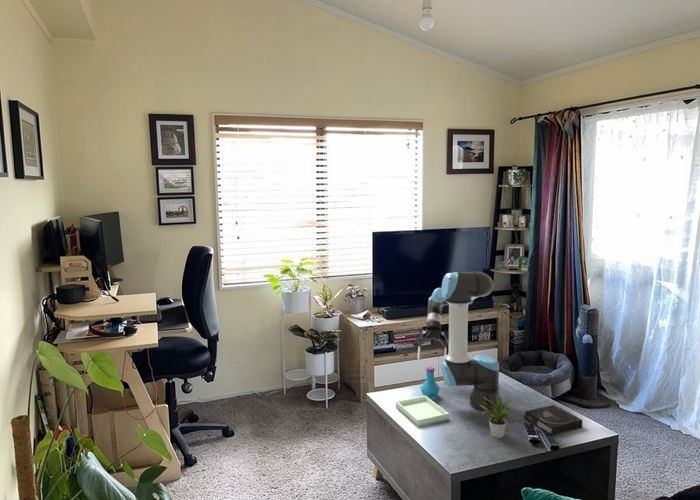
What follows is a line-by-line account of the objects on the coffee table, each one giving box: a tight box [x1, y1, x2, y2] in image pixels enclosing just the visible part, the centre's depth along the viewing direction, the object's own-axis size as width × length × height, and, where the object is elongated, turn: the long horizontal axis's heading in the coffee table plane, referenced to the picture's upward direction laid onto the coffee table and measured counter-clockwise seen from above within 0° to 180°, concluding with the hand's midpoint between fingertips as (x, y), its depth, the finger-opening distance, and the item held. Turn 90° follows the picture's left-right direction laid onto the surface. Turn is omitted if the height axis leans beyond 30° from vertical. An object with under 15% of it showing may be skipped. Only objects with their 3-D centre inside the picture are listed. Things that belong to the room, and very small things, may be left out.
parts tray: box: [395, 395, 450, 428], centre depth 239 cm, size 21×16×3 cm
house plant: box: [480, 395, 516, 439], centre depth 218 cm, size 14×14×16 cm
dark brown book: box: [524, 404, 583, 436], centre depth 227 cm, size 16×17×4 cm
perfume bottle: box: [420, 366, 440, 401], centre depth 256 cm, size 9×9×15 cm
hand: (431, 359), depth 265 cm, fingers open, 13 cm apart
